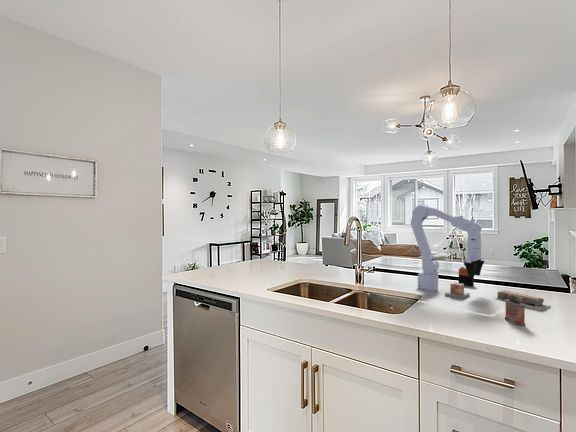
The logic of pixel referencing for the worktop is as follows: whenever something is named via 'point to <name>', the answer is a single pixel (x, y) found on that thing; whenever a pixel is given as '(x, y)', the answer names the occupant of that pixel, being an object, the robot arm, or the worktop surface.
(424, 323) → the worktop surface
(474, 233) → the robot arm
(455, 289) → the terracotta cube
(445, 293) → the slate slab
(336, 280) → the worktop surface
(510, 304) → the red snack pouch
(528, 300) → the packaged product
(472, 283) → the battery
